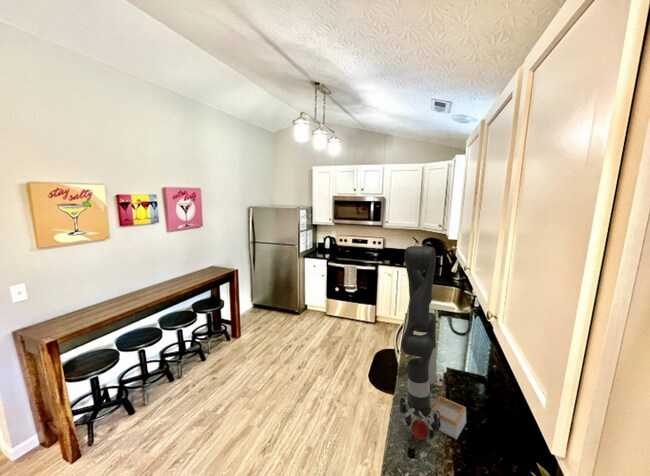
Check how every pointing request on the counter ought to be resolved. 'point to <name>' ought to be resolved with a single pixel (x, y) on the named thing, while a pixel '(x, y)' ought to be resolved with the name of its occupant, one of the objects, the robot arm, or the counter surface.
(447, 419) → the wooden tray
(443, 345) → the counter surface
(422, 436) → the onion
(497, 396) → the counter surface
